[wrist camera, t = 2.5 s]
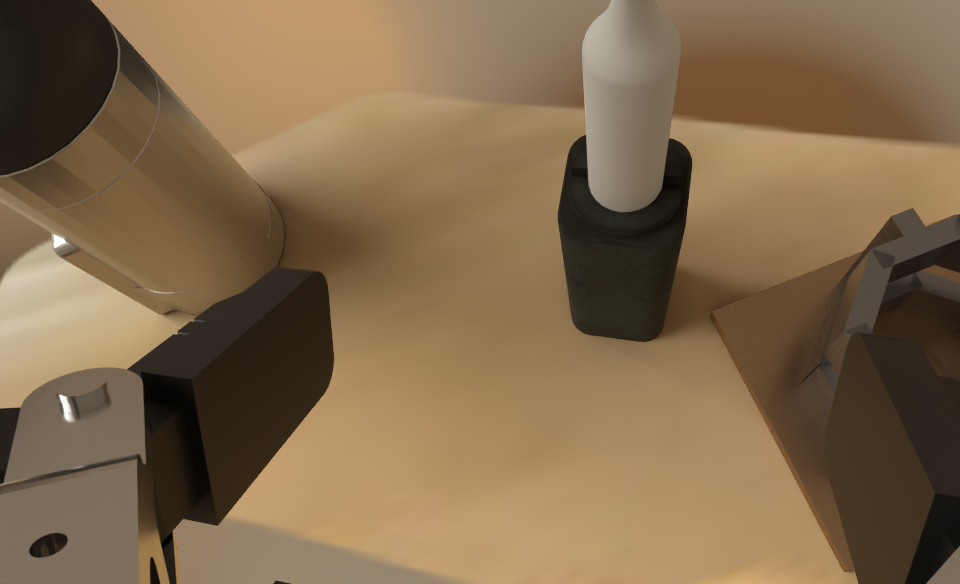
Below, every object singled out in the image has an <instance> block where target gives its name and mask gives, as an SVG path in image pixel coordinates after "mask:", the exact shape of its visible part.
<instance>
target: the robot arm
mask: <svg viewBox="0 0 960 584" xmlns="http://www.w3.org/2000/svg"><path fill="white" fill-rule="evenodd" d="M0 202H2V203H4V204H6V205H7V206H9V207H10V208H12V209H14V210H15V211H17V212H19V213H20V214H22V215H23V216H25V217H27V218H28V219H30V220H32V221H33V222H35V223H36V224H38V225H40V226H41V227H43V228H45V229H46V230H48V231H50V232H51V237H52V245H53V249H54V251H55V253H56V254H57V255H58V256H59V257H61V258H62V259H64V260H66V261H67V262H69V263H71V264H73V265H74V266H76V267H78V268H80V269H81V270H83V271H85V272H87V273H88V274H90V275H92V276H93V277H95V278H97V279H99V280H100V281H102V282H104V283H106V284H107V285H109V286H111V287H112V288H114V289H116V290H118V291H119V292H121V293H123V294H125V295H126V296H128V297H130V298H131V299H133V300H135V301H137V302H138V303H140V304H142V305H144V306H145V307H147V308H149V309H150V310H152V311H154V312H156V313H157V314H164V313H166V312H169V311H173V310H177V311H182V312H185V313H189V314H193V315H199V316H197V317H196V318H195V319H194V322H189V323H188V324H187V325H185V326H184V327H183V328H181V329H180V330H179V331H178V334H177V335H175V334H173V335H172V336H171V337H169V338H168V339H167V340H165V341H164V342H163V343H161V344H160V345H159V346H157V347H156V348H155V349H153V350H152V351H151V352H149V353H148V354H147V355H145V356H144V357H143V358H141V359H140V360H139V361H137V362H136V363H135V364H133V365H132V366H131V367H130V368H128V369H127V370H125V369H120V368H94V369H87V370H82V371H77V372H73V373H70V374H67V375H64V376H61V377H58V378H56V379H54V380H51V381H49V382H47V383H45V384H44V385H42V386H40V387H39V388H37V389H36V390H34V391H33V392H32V393H31V394H30V395H29V396H28V397H27V398H26V399H25V400H24V402H23V404H22V406H21V408H3V409H0V584H181V581H180V568H179V557H178V546H177V541H176V537H175V532H174V529H175V528H176V526H177V525H178V524H179V523H180V522H181V520H183V519H186V520H192V521H197V522H202V523H207V524H212V525H217V526H218V525H219V524H220V522H221V521H222V520H223V519H224V517H225V516H226V515H227V514H228V512H229V511H230V510H231V509H232V508H233V506H234V505H235V504H236V503H237V501H238V500H239V499H240V498H241V496H242V495H243V494H244V493H245V491H246V490H247V489H248V488H249V486H250V485H251V484H252V483H253V481H254V480H255V479H256V478H257V477H258V475H259V474H260V473H261V472H262V470H263V469H264V468H265V467H266V465H267V464H268V463H269V462H270V460H271V459H272V458H273V457H274V455H275V454H276V453H277V452H278V450H279V449H280V448H281V447H282V446H283V444H284V443H285V442H286V441H287V439H288V438H289V437H290V436H291V434H292V433H293V432H294V431H295V429H296V428H297V427H298V426H299V424H300V423H301V422H302V421H303V419H304V418H305V417H306V416H307V415H308V413H309V412H310V411H311V410H312V408H313V407H314V406H315V405H316V403H317V402H318V401H319V400H320V398H321V397H322V396H323V395H324V393H325V392H326V390H327V388H328V386H329V383H330V380H331V377H332V372H333V365H334V352H333V341H332V329H331V317H330V305H329V294H328V285H327V281H326V278H325V277H324V275H323V274H322V273H321V272H318V271H309V270H300V269H290V268H281V267H277V265H278V263H279V260H280V257H281V253H282V250H283V244H284V228H283V222H282V218H281V216H280V214H279V211H278V209H277V207H276V206H275V205H274V203H273V202H272V201H271V199H270V198H269V197H268V196H267V195H266V194H265V192H264V191H263V189H262V188H261V187H260V186H259V185H258V184H257V183H256V182H255V181H254V180H253V179H252V178H251V177H250V176H249V175H248V174H247V173H246V171H245V170H244V169H243V168H242V167H241V166H240V165H239V163H238V162H237V161H236V160H235V159H234V158H233V157H232V156H231V155H230V154H229V152H228V151H227V150H226V149H225V148H224V147H223V146H222V145H221V144H220V143H219V141H218V140H217V139H216V138H215V137H214V136H213V135H212V134H211V132H210V131H209V130H208V129H207V128H206V127H205V126H204V125H203V124H202V122H201V121H200V120H199V119H198V118H197V117H196V116H195V115H194V114H193V113H192V111H191V110H190V109H189V108H188V107H187V106H186V105H185V104H184V103H183V101H181V99H180V98H179V97H178V96H177V95H176V94H175V93H174V91H173V90H172V89H171V88H170V87H169V86H168V85H167V84H166V83H165V81H164V80H163V79H162V78H161V77H160V76H159V75H158V74H157V73H156V71H155V70H154V69H153V68H152V67H151V66H150V65H149V64H148V63H147V62H146V61H145V60H144V58H143V57H142V56H141V55H140V54H139V53H138V52H137V51H136V49H134V47H133V46H132V45H131V44H130V43H129V42H128V41H127V39H126V38H125V37H124V36H123V35H122V34H121V33H120V32H119V31H118V30H117V28H116V27H115V26H114V25H113V24H112V23H111V22H110V21H109V20H108V19H107V18H106V16H105V15H104V14H103V13H102V12H101V11H100V10H99V9H98V7H97V6H96V5H95V4H94V3H93V2H92V1H91V0H0ZM825 465H826V470H827V474H828V477H829V481H830V484H831V488H832V491H833V495H834V498H835V502H836V505H837V509H838V512H839V516H840V519H841V523H842V527H843V530H844V534H845V537H846V541H847V544H848V548H849V551H850V555H851V558H852V562H853V565H854V569H855V572H856V576H857V580H858V583H859V584H960V382H959V381H958V380H957V379H955V378H950V377H942V376H938V375H937V373H936V371H935V370H934V368H933V367H932V365H931V363H930V362H929V360H928V358H927V357H926V355H925V353H924V352H923V350H922V348H921V347H920V345H919V344H918V342H917V341H916V340H915V339H914V338H905V337H896V336H887V335H878V334H869V333H860V332H855V333H853V334H852V336H851V337H850V339H849V342H848V344H847V347H846V351H845V355H844V359H843V363H842V367H841V371H840V375H839V379H838V383H837V387H836V391H835V395H834V399H833V403H832V407H831V412H830V416H829V420H828V424H827V429H826V436H825ZM274 584H289V583H284V582H279V581H275V583H274Z"/></svg>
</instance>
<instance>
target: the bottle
mask: <svg viewBox="0 0 960 584" xmlns="http://www.w3.org/2000/svg"><path fill="white" fill-rule="evenodd" d="M680 55H681V39H680V35H679V32H678V29H677V27H676V25H675V24H674V22H673V21H672V20H671V19H670V18H669V16H667V15H666V14H665V13H664V12H663V11H661V10H660V9H658V6H657V4H656V1H655V0H611V3H610V5H609V7H608V9H607V10H606V11H605V12H604V13H603V14H601V15H600V16H599V17H598V18H597V19H596V20H595V21H594V22H593V23H592V24H591V26H590V27H589V29H588V30H587V32H586V35H585V38H584V41H583V44H582V62H583V83H584V103H585V123H586V135H584V136H582V137H580V138H579V139H578V140H577V141H575V142H574V144H573V145H572V147H571V148H570V151H569V154H568V158H567V164H566V169H565V175H564V181H563V187H562V192H561V198H560V204H559V210H558V224H559V231H560V238H561V245H562V252H563V259H564V266H565V273H566V280H567V287H568V295H569V302H570V309H571V316H572V320H573V323H574V325H575V326H576V328H577V329H578V330H580V331H581V332H583V333H585V334H589V335H595V336H602V337H610V338H617V339H624V340H632V341H639V342H645V341H649V340H652V339H654V338H655V337H657V336H658V335H659V334H660V332H661V330H662V328H663V324H664V320H665V315H666V311H667V306H668V302H669V297H670V293H671V288H672V284H673V279H674V275H675V270H676V266H677V261H678V257H679V252H680V248H681V243H682V239H683V234H684V230H685V225H686V216H687V207H688V199H689V190H690V181H691V172H692V158H691V155H690V153H689V151H688V149H687V148H686V147H685V146H684V145H683V144H682V143H680V142H679V141H676V140H674V139H670V138H669V134H670V126H671V119H672V111H673V105H674V98H675V90H676V83H677V76H678V69H679V61H680Z"/></svg>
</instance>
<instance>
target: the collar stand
mask: <svg viewBox="0 0 960 584" xmlns="http://www.w3.org/2000/svg"><path fill="white" fill-rule="evenodd" d="M710 316H711V318H712V320H713V322H714V324H715V326H716V328H717V330H718V332H719V334H720V336H721V337H722V339H723V341H724V343H725V345H726V347H727V349H728V351H729V353H730V355H731V357H732V358H733V360H734V362H735V364H736V366H737V368H738V370H739V372H740V374H741V376H742V378H743V380H744V381H745V383H746V385H747V387H748V389H749V391H750V393H751V395H752V397H753V399H754V401H755V403H756V404H757V406H758V408H759V410H760V412H761V414H762V416H763V418H764V420H765V422H766V424H767V426H768V427H769V429H770V431H771V433H772V435H773V437H774V439H775V441H776V443H777V445H778V447H779V448H780V450H781V452H782V454H783V456H784V458H785V460H786V462H787V464H788V466H789V468H790V470H791V471H792V473H793V475H794V477H795V479H796V481H797V483H798V485H799V487H800V489H801V491H802V493H803V494H804V496H805V498H806V500H807V502H808V504H809V506H810V508H811V510H812V512H813V514H814V516H815V517H816V519H817V521H818V523H819V525H820V527H821V529H822V531H823V533H824V535H825V537H826V538H827V540H828V542H829V544H830V546H831V548H832V550H833V552H834V554H835V556H836V558H837V560H838V561H839V563H840V565H841V567H842V569H843V571H844V572H849V571H852V570H854V565H853V562H852V558H851V555H850V551H849V548H848V544H847V541H846V537H845V534H844V530H843V527H842V523H841V519H840V516H839V512H838V509H837V505H836V502H835V498H834V495H833V491H832V488H831V484H830V481H829V477H828V474H827V470H826V465H825V436H826V429H827V424H828V420H829V416H830V412H831V407H832V403H833V399H834V395H835V391H836V387H837V383H838V379H839V375H840V371H841V367H842V363H843V359H844V355H845V351H846V347H847V344H848V342H849V339H850V337H851V336H852V334H853V333H855V332H860V333H869V334H878V335H887V336H896V337H905V338H914V339H915V340H916V341H917V342H918V344H919V345H920V347H921V348H922V350H923V352H924V353H925V355H926V357H927V358H928V360H929V362H930V363H931V365H932V367H933V368H934V370H935V371H936V373H937V375H938V376H942V377H950V378H955V379H957V380H958V381H959V382H960V214H958V215H953V216H951V217H948V218H946V219H943V220H941V221H938V222H936V223H933V224H931V225H928V226H926V227H925V225H924V224H923V222H922V221H921V219H920V218H919V216H918V215H917V213H916V212H915V211H914V209H913V208H912V209H909V210H907V211H904V212H902V213H899V214H897V215H894V216H892V217H890V219H889V220H888V221H887V222H886V224H885V225H884V226H883V227H882V229H881V230H880V231H879V232H878V234H877V235H876V236H875V237H874V239H873V240H872V241H871V243H870V244H869V245H868V246H867V248H866V249H865V250H864V251H862V252H860V253H857V254H855V255H852V256H850V257H847V258H845V259H842V260H840V261H837V262H835V263H832V264H830V265H827V266H825V267H822V268H820V269H817V270H814V271H812V272H809V273H807V274H804V275H802V276H799V277H797V278H794V279H792V280H789V281H787V282H784V283H782V284H779V285H777V286H774V287H772V288H769V289H767V290H764V291H761V292H759V293H756V294H754V295H751V296H749V297H746V298H744V299H741V300H739V301H736V302H734V303H731V304H729V305H726V306H724V307H721V308H719V309H716V310H713V311H712V313H711V315H710Z"/></svg>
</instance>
